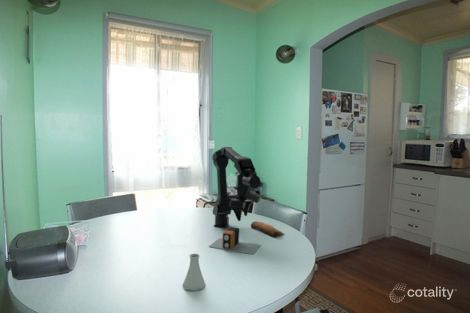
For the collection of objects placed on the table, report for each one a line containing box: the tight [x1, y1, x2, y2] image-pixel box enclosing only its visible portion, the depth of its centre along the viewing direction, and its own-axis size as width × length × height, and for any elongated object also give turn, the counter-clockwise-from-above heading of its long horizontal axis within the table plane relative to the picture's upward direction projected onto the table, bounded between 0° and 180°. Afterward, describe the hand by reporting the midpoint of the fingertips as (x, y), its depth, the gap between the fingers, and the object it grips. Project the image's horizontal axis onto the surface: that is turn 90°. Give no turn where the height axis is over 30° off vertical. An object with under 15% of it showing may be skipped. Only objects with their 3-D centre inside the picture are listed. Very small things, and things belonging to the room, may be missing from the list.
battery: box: [222, 226, 240, 249], centre depth 126 cm, size 4×7×10 cm
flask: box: [182, 253, 206, 292], centre depth 92 cm, size 7×7×10 cm
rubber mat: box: [208, 237, 261, 256], centre depth 126 cm, size 20×11×1 cm, turn 69°
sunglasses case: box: [250, 221, 285, 238], centre depth 148 cm, size 18×7×7 cm, turn 36°
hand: (242, 218), depth 135 cm, fingers open, 9 cm apart
